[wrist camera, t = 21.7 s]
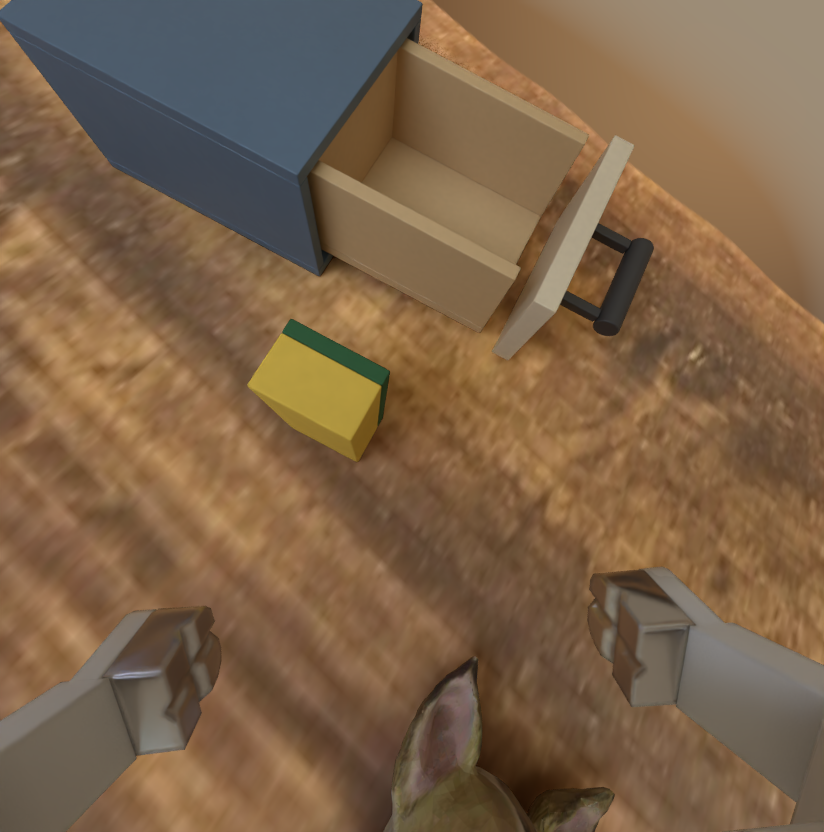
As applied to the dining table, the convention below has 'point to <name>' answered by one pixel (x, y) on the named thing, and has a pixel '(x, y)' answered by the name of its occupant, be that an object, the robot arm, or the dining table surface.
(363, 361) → the scrub sponge
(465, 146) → the drawer
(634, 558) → the dining table surface
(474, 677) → the ceramic sculpture
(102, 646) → the robot arm
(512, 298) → the dining table surface
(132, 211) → the dining table surface
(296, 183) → the cabinet
